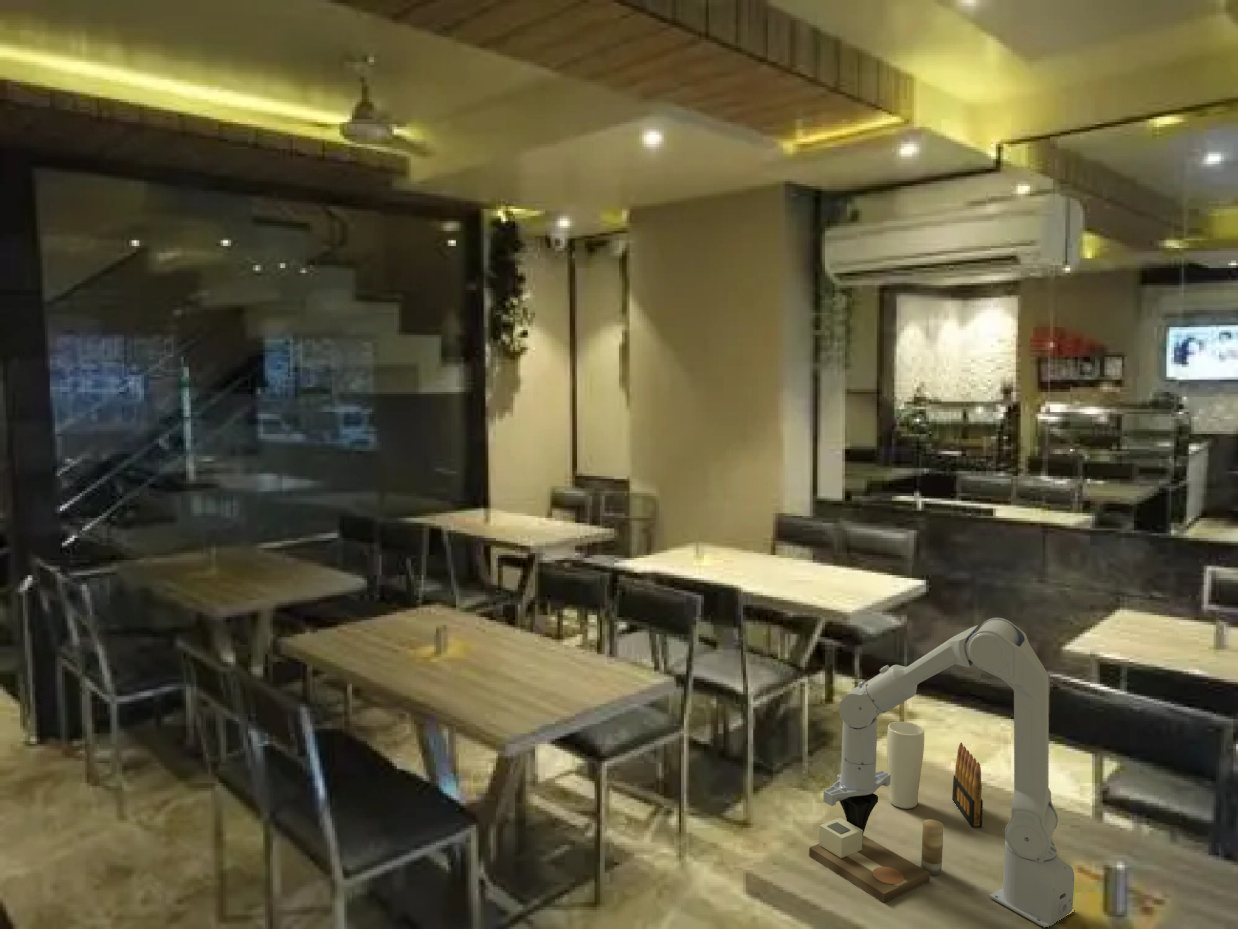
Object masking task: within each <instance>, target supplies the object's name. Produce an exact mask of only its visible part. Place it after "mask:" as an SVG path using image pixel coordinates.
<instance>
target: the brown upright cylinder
mask: <svg viewBox="0 0 1238 929" xmlns="http://www.w3.org/2000/svg"><path fill="white" fill-rule="evenodd" d="M921 835H922V839H921V841H922V842H921V860H920V861H921V862H920V867H921V868H922V869H924V870H926V871H928V872H930V877H931V876H934V877H937V876H940V875H941V874H942V869H943V868H942V865H943V864H942V863H943V847H944V846H943V845H944V844H943V843H944V824H943V823H942V822H940V820H939V821H938V820H937V819H936V820H935V819H925V820H923V822H922V834H921Z"/></svg>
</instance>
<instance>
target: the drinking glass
mask: <svg viewBox="0 0 1238 929" xmlns="http://www.w3.org/2000/svg"><path fill="white" fill-rule="evenodd" d="M886 734H887V735H886V756H887V757H886V758H887V773H888V774H890V775H891V780H890V785H889V786H888V801H889V803H890V804H891V805H893V806H894V807H897V808H899V809H903V810H904V809H914V808H916V807H917V805H918V801H919V791H920V790H919V788H920V783H921V781H920V780H921V775H922V767H923V759H924V754H925V753H924V752H925V728H924V727H922V726H921V725H918V724H916V723H913V722H909V721H908V722H907V721H894V722H890V723H889V724H888V725H887V733H886Z"/></svg>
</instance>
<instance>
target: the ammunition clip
mask: <svg viewBox="0 0 1238 929" xmlns="http://www.w3.org/2000/svg"><path fill="white" fill-rule="evenodd" d="M957 747H958V748H957V755H956V761H955V769H954V770H955V771H954V774H953V779H952V781H953V782H952V794H951V795H952V796H951V797H952V798H951V800H953V801H954V802H953V801H952V802H953V803H955V804H956V805H955V804H954V805H955V806H956V808H957V807H958V808H957V809H958V811H959V810H960V811H959V812H960V814H961V815H962V817H963V818H964V819H965V821H966V822H967V823H968V825H969V827H971V829H972V828H974V829H975V828H976V829H979V828H980V829H982V828H983V808H984V807H983V805H984V800H983V799H982V793H983V792H982V789H983V787H982V786H983V785H982V769H981V768H982V767H981V764H980V762H977V759H976V758H975V757H974V756H973V754H972V753H970V751H969V750H968V749H967V748H966V746H965V745H964V744H963V742H962V741H961V742H960V743H959V744H958V746H957Z"/></svg>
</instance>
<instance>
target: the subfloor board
mask: <svg viewBox="0 0 1238 929" xmlns="http://www.w3.org/2000/svg"><path fill="white" fill-rule="evenodd" d="M808 851H809V852H808V854H809V857H810V858H812V859H813V860H815V861H816V862H818V863H819V864H821V865H823V866H824V867H826V868H828V869H829V870H831V871H832V872H834V873H835V874H837V875H839V876H840V877H842V878H843V879H846V880H847V881H849V882H850V883H851V884H854V886H857V888H859V889H861V890H862V891H864V892H866V893H867V894H869V895H870V896H872V897H874V898H875V899H877V900H878V901H880V902H881V903H884V904H885V903H887V902H888V901H891V900H893V899H895V898H897V897H900V896H902V895H904V894H905V893H908V892H910V891H912V890H914V889H917V888H919V887H921V886H924V884H927V883H930V879H931V875H930V872H928V871H926V870H924V869H922V868H921V866H919V865H916V863H913V862H912V861H910V860H908V859H907V858H904V857H903V856H901V855H899V854H897V853H896V852H894V851H892V850H890V849H888V848H887V847H885V846H883V845H881V844H880V843H877V842H876V841H874V840H872V839H871V838H869V837H867V836H865V835H864V834H863V835H862V850H860V851H858V852H855V853H853V854H850V855H848V856H845V857H843V858H840V857H838V856H837V855H835V854H833V853H832V852H830V851H828V850H827V849H825V848H824V847H822V846H820V845H819V843H818V844H815V845H812V846H810V847H809V850H808Z"/></svg>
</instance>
